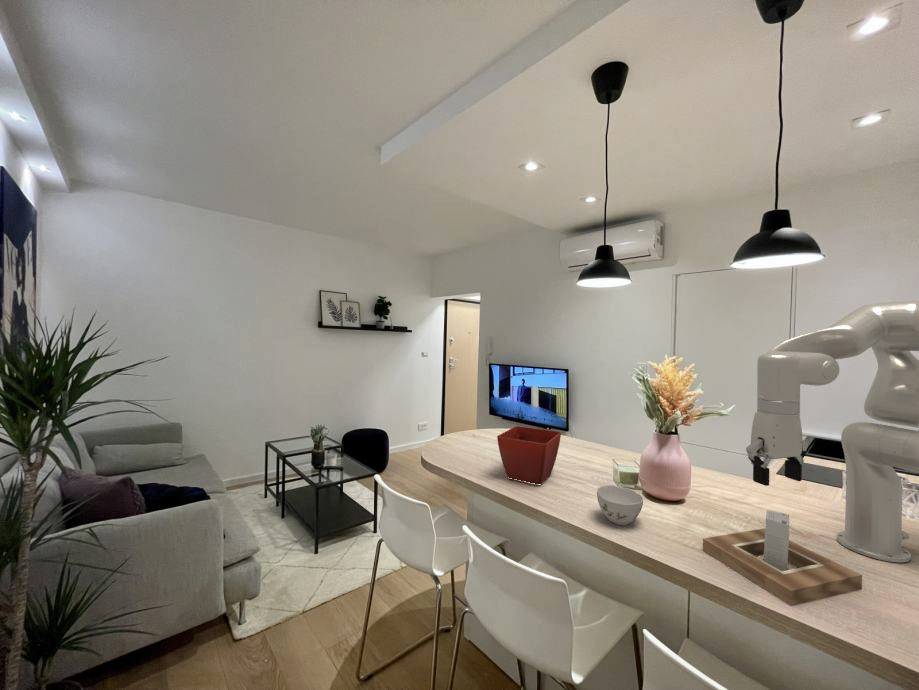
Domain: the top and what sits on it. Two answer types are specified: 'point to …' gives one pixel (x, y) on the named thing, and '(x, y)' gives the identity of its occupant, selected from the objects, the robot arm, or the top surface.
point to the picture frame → (790, 586)
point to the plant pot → (529, 453)
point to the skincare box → (776, 540)
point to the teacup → (619, 503)
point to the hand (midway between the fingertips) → (777, 481)
